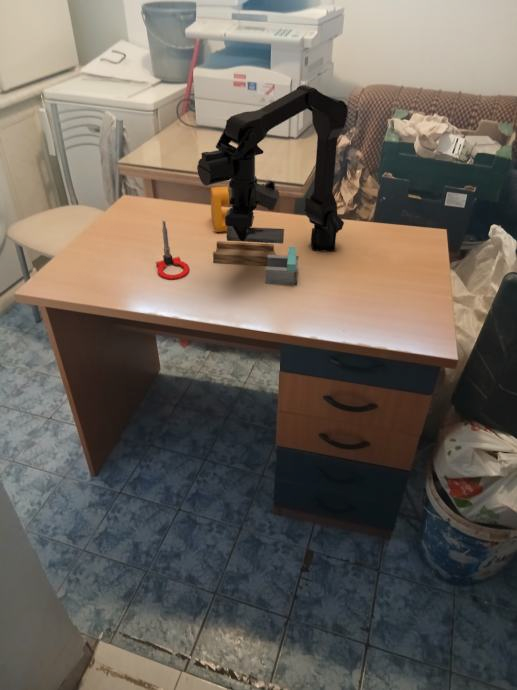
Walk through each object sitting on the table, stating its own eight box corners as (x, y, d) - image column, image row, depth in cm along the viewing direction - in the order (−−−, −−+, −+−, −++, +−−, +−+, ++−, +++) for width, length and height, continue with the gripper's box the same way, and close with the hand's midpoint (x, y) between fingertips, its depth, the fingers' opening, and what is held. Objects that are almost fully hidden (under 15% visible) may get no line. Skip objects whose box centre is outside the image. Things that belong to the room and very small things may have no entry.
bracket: (239, 232, 153) (239, 194, 145) (215, 234, 152) (213, 195, 144) (234, 216, 161) (233, 179, 153) (211, 218, 160) (209, 181, 152)
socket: (297, 270, 136) (298, 256, 133) (296, 285, 130) (297, 271, 128) (267, 268, 137) (268, 254, 134) (265, 283, 131) (265, 269, 128)
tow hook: (194, 277, 134) (182, 259, 140) (191, 233, 125) (178, 216, 131) (163, 284, 131) (152, 266, 137) (158, 240, 122) (146, 223, 129)
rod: (283, 238, 129) (284, 226, 126) (282, 246, 126) (283, 233, 124) (228, 235, 130) (228, 223, 127) (226, 243, 127) (226, 231, 124)
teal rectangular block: (296, 253, 134) (296, 247, 133) (294, 271, 127) (295, 264, 126) (288, 253, 134) (288, 246, 133) (286, 271, 127) (287, 264, 126)
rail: (273, 252, 143) (274, 243, 142) (271, 266, 138) (272, 257, 136) (217, 249, 145) (217, 240, 143) (213, 262, 139) (212, 254, 137)
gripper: (274, 193, 110) (272, 257, 120) (280, 162, 124) (277, 221, 134) (223, 191, 110) (225, 254, 120) (234, 160, 125) (235, 219, 135)
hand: (243, 236), depth 127 cm, fingers closed on rod, 4 cm apart
